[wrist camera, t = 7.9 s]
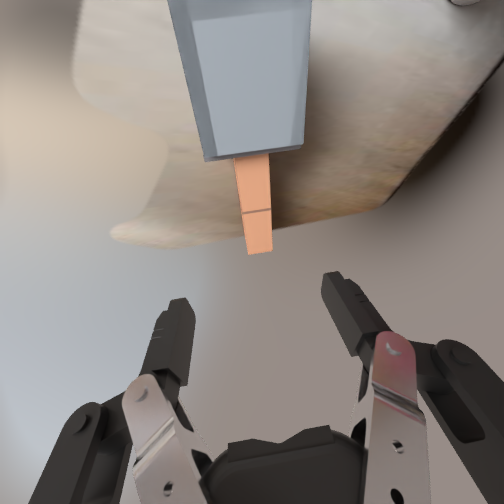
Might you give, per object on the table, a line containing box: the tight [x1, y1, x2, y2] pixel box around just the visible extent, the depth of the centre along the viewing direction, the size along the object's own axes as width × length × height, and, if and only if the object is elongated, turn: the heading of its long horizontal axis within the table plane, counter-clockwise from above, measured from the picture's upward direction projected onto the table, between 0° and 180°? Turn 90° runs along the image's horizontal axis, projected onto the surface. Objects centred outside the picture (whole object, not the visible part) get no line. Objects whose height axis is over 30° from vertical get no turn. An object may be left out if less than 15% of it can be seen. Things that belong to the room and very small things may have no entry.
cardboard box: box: [233, 153, 273, 255], centre depth 25 cm, size 4×15×6 cm, turn 6°
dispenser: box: [167, 0, 312, 162], centre depth 18 cm, size 9×10×9 cm
